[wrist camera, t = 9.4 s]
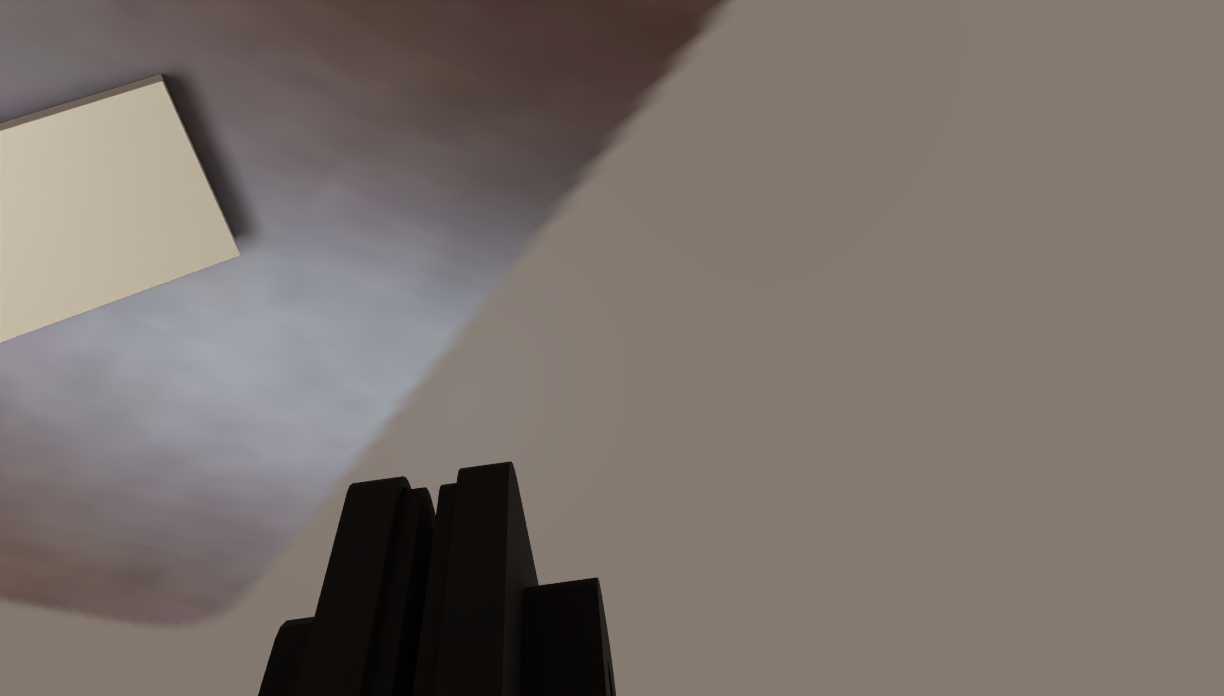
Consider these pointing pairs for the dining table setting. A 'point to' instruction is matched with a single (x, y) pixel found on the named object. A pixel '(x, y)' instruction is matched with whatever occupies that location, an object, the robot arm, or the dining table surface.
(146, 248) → the tile
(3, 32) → the dining table surface
